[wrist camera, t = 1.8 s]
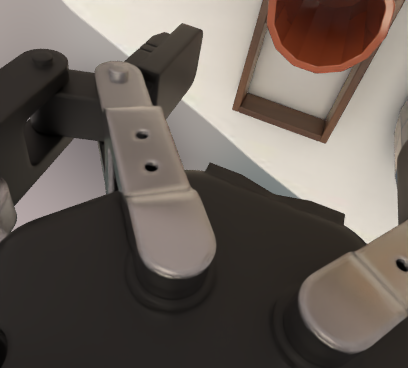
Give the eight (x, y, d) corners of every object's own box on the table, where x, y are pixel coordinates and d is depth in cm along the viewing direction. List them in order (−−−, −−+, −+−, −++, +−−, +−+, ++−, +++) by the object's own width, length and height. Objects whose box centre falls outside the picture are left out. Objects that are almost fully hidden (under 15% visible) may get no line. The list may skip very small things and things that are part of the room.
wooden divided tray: (306, -135, 22) (299, -132, 20) (448, -95, 21) (454, -88, 20) (239, 95, 34) (231, 109, 32) (328, 127, 33) (325, 144, 31)
